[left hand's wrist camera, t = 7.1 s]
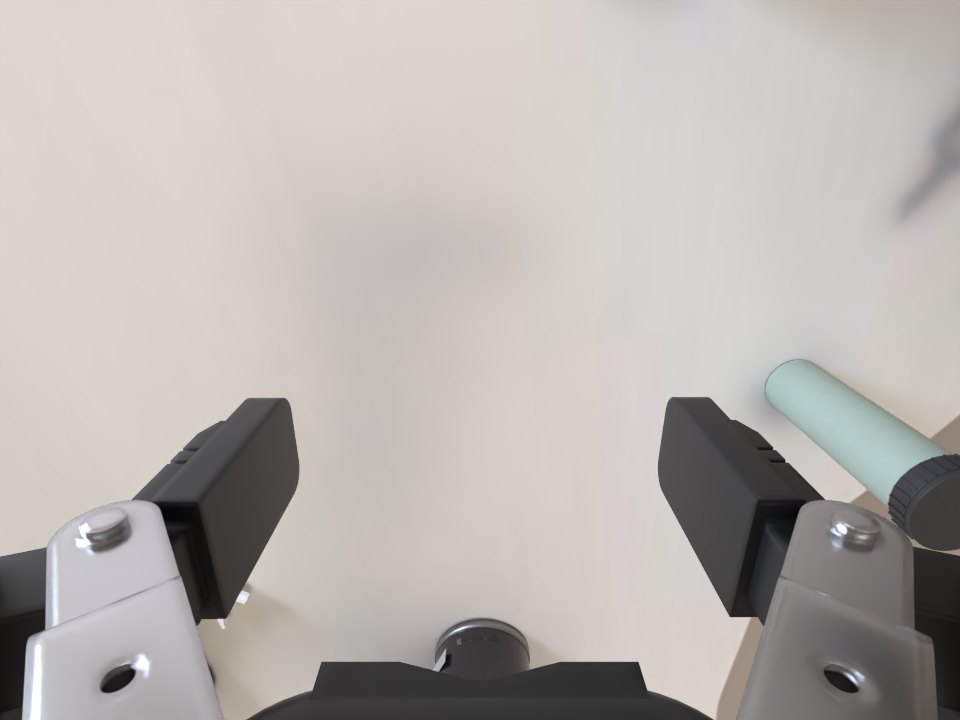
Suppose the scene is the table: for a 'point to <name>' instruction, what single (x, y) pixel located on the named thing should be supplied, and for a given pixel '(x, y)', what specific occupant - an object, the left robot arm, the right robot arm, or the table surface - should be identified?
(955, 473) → the lid
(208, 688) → the left robot arm
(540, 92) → the table surface
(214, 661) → the table surface
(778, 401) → the jar
